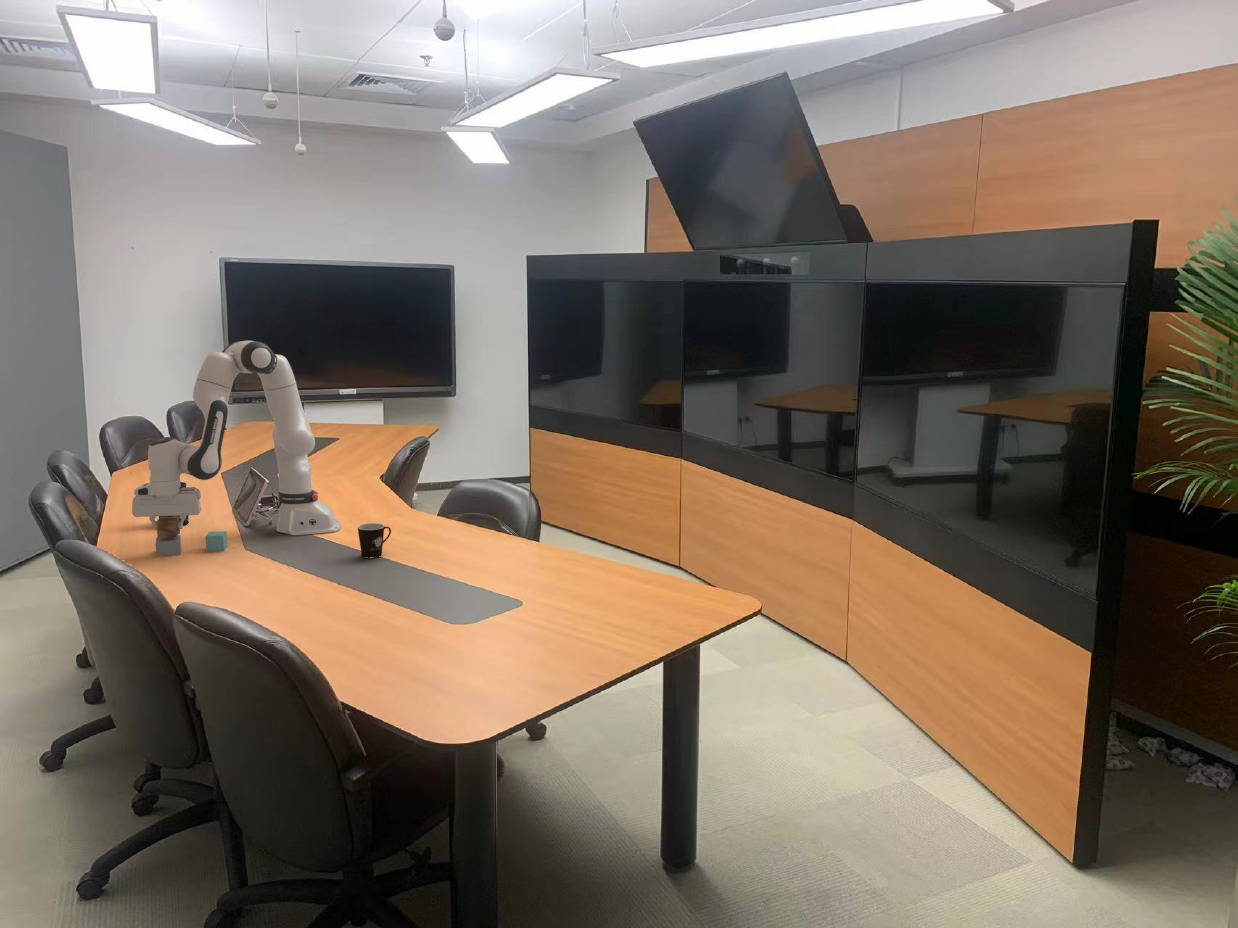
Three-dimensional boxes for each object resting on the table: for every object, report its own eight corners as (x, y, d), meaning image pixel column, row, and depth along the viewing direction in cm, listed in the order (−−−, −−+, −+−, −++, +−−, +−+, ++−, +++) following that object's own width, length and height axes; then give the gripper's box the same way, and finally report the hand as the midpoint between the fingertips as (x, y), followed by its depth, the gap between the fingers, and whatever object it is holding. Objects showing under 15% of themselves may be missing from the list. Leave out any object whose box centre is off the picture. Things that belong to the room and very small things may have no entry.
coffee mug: (361, 560, 293) (360, 531, 292) (355, 553, 301) (355, 524, 299) (397, 556, 299) (396, 527, 297) (390, 549, 306) (390, 521, 304)
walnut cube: (180, 532, 298) (178, 516, 297) (176, 537, 293) (174, 520, 292) (162, 533, 297) (160, 517, 296) (157, 537, 292) (156, 521, 291)
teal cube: (227, 546, 305) (226, 531, 304) (224, 551, 299) (223, 535, 298) (209, 547, 303) (208, 531, 302) (206, 552, 298) (205, 536, 297)
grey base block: (181, 549, 301) (180, 535, 300) (180, 555, 294) (179, 540, 293) (157, 551, 298) (156, 536, 297) (156, 557, 292) (155, 542, 291)
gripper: (202, 484, 297) (204, 525, 300) (134, 486, 293) (137, 527, 295) (198, 488, 291) (200, 530, 294) (128, 490, 287) (132, 532, 289)
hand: (168, 528), depth 295 cm, fingers closed on walnut cube, 5 cm apart
